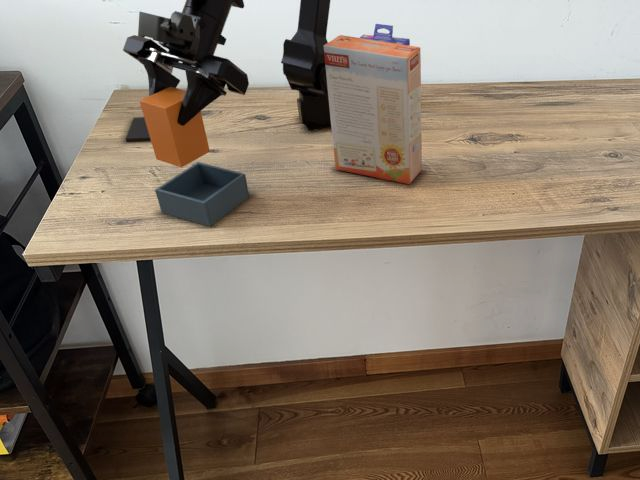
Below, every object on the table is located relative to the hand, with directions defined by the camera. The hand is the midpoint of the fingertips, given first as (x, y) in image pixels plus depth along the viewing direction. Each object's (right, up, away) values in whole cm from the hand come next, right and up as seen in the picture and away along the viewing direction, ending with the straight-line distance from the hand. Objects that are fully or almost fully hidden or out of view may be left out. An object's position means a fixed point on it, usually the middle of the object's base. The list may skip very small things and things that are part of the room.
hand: (166, 120), depth 98 cm
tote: (+2, -10, +9) cm, 14 cm away
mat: (-13, +8, +28) cm, 31 cm away
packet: (0, -4, +5) cm, 6 cm away
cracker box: (+28, -2, +19) cm, 34 cm away
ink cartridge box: (+27, +17, +41) cm, 52 cm away
